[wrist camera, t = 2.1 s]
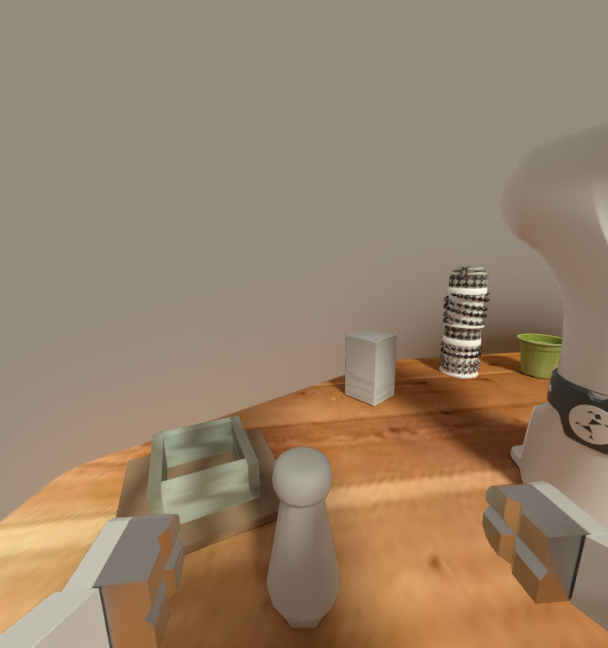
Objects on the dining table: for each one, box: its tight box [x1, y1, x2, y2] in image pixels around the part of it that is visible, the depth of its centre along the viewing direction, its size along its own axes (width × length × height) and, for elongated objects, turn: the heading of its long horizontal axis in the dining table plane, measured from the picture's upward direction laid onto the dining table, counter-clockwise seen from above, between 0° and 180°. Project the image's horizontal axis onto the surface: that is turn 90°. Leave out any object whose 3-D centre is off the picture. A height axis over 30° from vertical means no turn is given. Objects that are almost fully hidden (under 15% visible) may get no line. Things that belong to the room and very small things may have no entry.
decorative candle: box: [439, 267, 490, 378], centre depth 68 cm, size 9×9×25 cm
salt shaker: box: [266, 446, 340, 628], centre depth 22 cm, size 6×6×13 cm
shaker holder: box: [116, 415, 280, 555], centre depth 35 cm, size 18×16×6 cm
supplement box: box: [345, 330, 397, 406], centre depth 58 cm, size 7×7×13 cm
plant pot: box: [517, 334, 562, 379], centre depth 68 cm, size 9×9×9 cm
